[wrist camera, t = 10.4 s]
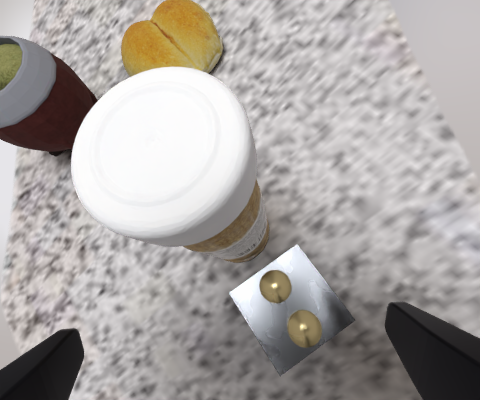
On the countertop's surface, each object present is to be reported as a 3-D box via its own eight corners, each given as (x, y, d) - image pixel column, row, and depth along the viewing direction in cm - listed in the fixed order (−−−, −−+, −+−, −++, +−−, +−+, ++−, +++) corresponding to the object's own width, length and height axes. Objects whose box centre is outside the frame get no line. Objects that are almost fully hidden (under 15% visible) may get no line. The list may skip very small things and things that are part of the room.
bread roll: (119, 62, 25) (91, 25, 22) (192, 12, 26) (177, -33, 22) (159, 116, 23) (134, 85, 19) (239, 60, 23) (231, 18, 20)
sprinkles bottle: (248, 190, 19) (192, 28, 7) (282, 242, 18) (293, 161, 5) (197, 222, 19) (38, 119, 6) (226, 276, 18) (99, 281, 5)
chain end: (344, 313, 16) (357, 321, 13) (280, 361, 16) (280, 378, 13) (294, 248, 18) (297, 243, 15) (235, 290, 18) (227, 293, 15)
